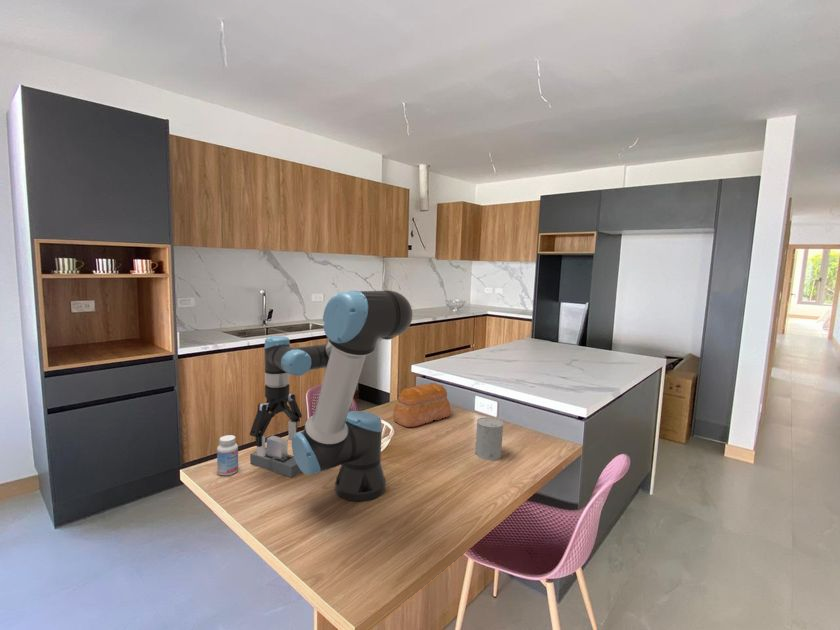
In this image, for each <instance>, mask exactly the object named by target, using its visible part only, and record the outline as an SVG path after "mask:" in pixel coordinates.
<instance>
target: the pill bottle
mask: <svg viewBox="0 0 840 630" xmlns="http://www.w3.org/2000/svg"><path fill="white" fill-rule="evenodd" d="M238 445H239V444H238V443H236V436H235V435H233V434H230V435H229V434H228V435H223V436H221V437H219V445H218V446H217V449H216V458H217V459H216V460H217V461H216V466H217V468H216V470H217V472H216V473H218V475H220V476H231V475H234V474H235V473H237V472H238V471H239V446H238Z"/></svg>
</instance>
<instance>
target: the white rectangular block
mask: <svg viewBox="0 0 840 630" xmlns="http://www.w3.org/2000/svg"><path fill="white" fill-rule="evenodd" d="M288 441H289V439H288V438H282V437H280V436H276V435H272V436H269V437H267V438H266V448H267V458H275V459H278V461H280V462H283V463H284V462H286V461H287V457H288V455H289V454H288V448H289V447H288Z"/></svg>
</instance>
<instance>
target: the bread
mask: <svg viewBox="0 0 840 630" xmlns="http://www.w3.org/2000/svg"><path fill="white" fill-rule="evenodd" d="M447 397H448V392H447V390H446V388H445V387H444V386H443V385H441V384H438V383H435V382H430V383H428V384H427V383H426V384H424V383H423V384H419V385H414V386H412V387H407V388H404V389H402V391H401V392H400V393H399V394H398V397H397V403H396V404H395V406H394V408H393V420H394V422H395V423H396V422H397V423H396V424H399V425H401V426H403V427H406V428H414V427H419V426H420V425H425V423H426V424H429V423H431V422H434V421H433V420H435V421H440V420H442V418H443V419H446V418H448V417H449V416H450V415H451V413H452V412H451V411H452V410H451V405H450V401H449V400H448V398H447ZM445 417H446V418H445Z"/></svg>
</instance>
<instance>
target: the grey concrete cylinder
mask: <svg viewBox="0 0 840 630" xmlns="http://www.w3.org/2000/svg"><path fill="white" fill-rule="evenodd" d="M503 429H504V421H503V420H501V419H498V418H494V417H490V416H489V417H485V416H484V417H479V418H478V419H477V420H476V433H475V435H476V437H475V451H474V453H475V454H476V455H477V456H478V457H477V456H476V455H475V456H476V457H477V458H479V457H480V458H479V459H481V458H482V459H481V460H484V459H486V460H485V461H497V459H498V460H500V459H501V458H502V450H503V449H502V448H503V434H504V433H503V432H504V430H503Z"/></svg>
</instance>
